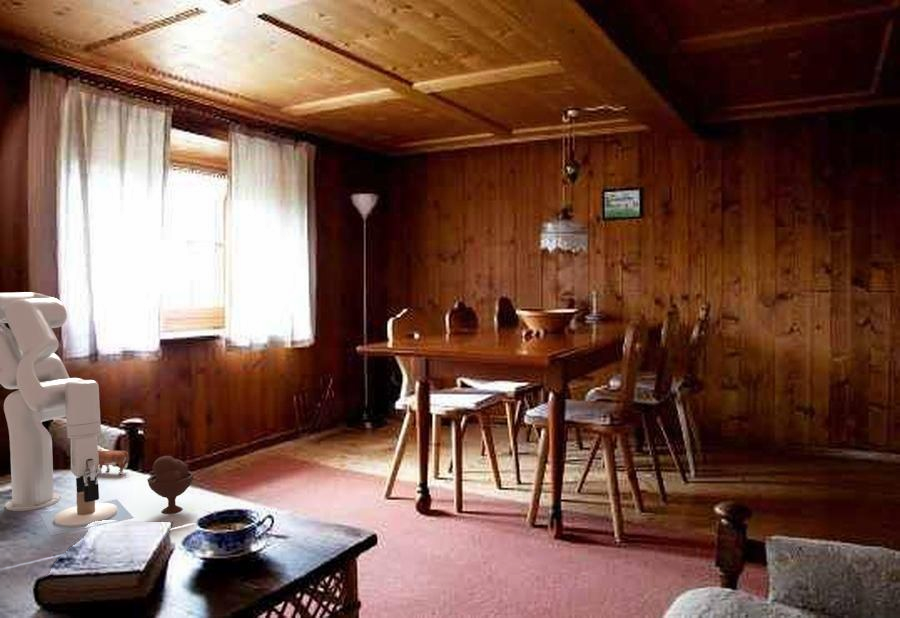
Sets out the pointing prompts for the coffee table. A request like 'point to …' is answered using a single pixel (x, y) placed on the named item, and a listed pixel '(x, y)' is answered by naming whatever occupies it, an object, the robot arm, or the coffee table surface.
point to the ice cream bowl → (170, 481)
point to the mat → (57, 529)
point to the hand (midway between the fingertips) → (87, 496)
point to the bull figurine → (112, 458)
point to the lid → (85, 512)
